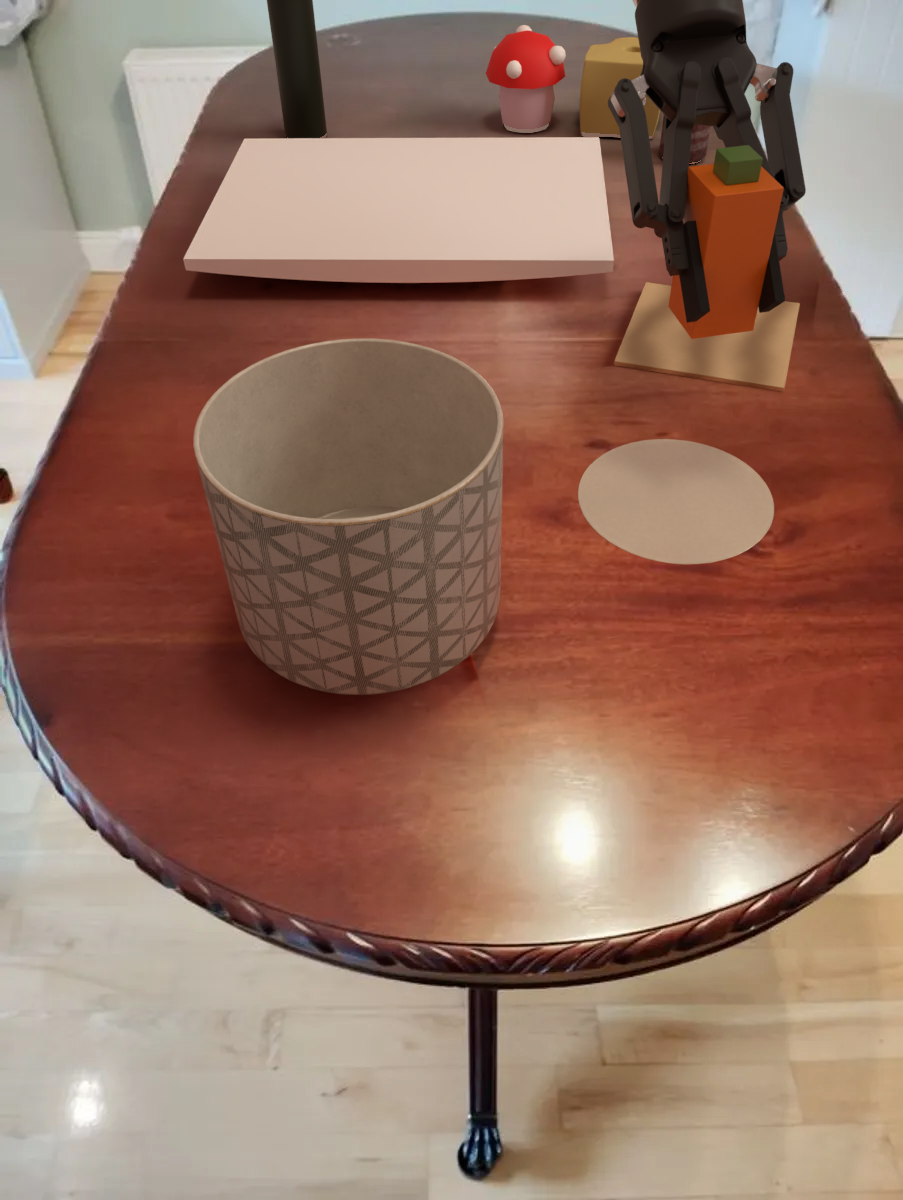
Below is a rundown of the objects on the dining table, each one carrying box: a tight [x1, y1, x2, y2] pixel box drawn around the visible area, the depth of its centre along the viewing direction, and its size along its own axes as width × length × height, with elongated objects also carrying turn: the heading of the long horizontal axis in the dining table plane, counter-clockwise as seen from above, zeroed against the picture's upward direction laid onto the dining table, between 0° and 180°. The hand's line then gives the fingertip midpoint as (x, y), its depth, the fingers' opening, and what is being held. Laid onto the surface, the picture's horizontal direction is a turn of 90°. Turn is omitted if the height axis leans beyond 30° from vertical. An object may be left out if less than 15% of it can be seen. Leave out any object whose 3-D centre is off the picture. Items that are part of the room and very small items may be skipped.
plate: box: [577, 438, 775, 565], centre depth 83 cm, size 16×16×1 cm
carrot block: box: [669, 145, 784, 339], centre depth 73 cm, size 5×5×13 cm
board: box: [182, 136, 615, 284], centre depth 117 cm, size 45×32×5 cm
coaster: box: [613, 281, 801, 393], centre depth 100 cm, size 16×16×1 cm
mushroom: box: [485, 24, 567, 129], centre depth 136 cm, size 11×11×12 cm
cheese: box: [579, 36, 661, 137], centre depth 135 cm, size 10×11×10 cm
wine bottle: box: [266, 0, 328, 138], centre depth 128 cm, size 6×6×30 cm
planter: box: [192, 337, 504, 696], centre depth 68 cm, size 19×19×18 cm
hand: (735, 311), depth 73 cm, fingers closed on carrot block, 5 cm apart
